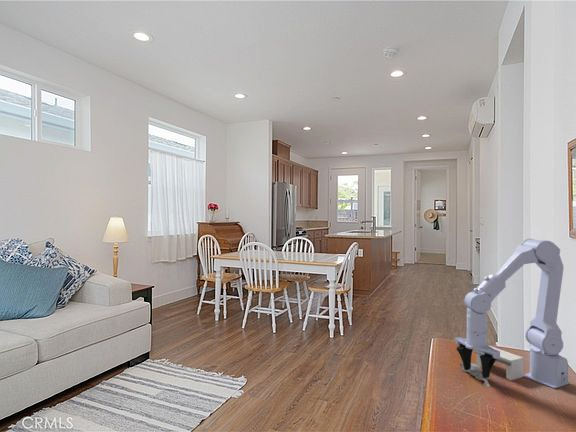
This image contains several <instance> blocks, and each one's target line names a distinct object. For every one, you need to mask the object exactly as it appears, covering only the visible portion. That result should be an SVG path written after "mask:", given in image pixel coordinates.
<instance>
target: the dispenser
mask: <svg viewBox="0 0 576 432" xmlns="http://www.w3.org/2000/svg"><path fill="white" fill-rule="evenodd" d="M487 345H488V344H487ZM488 346H490V347H492V348H493V349H495V350H498V351H500V358H497V360H496V361H495V362H498V363H501V364H504V365H506V366H505V369H506V370H505V372H506V373H505V374H506V376H505V377H506V380H510V381H514V380H517V379H520V378H523V377H524V357H523V356H521V355H517V354H514V353H512V352H508V351H506V350H502V349H500V348H497V347H494V346H491V345H488ZM473 351H474V354H476V360H475V362H476V363H475V364H476V365H477V367H478V368H480V369H481V368H482V363H481V359H480V356H481V355H484V353H481V352H479V351H476V350H473Z"/></svg>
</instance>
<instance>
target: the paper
mask: <svg viewBox="0 0 576 432" xmlns="http://www.w3.org/2000/svg"><path fill="white" fill-rule="evenodd" d="M459 366H460V367H461V372H464V373H469V374H470V375H471V376H473V377H475V379H476V380H479V381H484V383H483V385H482V386H484V387H485V386H486V387H487V388H490V387H491V384H490V383H489V381H488V379H487V378H483V376H482V369H481V368H480V367H478V366H477V365H476V363H473V362H471V368H470V369H468V370H465V369H464V366H463V362H461V363H460V364H459Z"/></svg>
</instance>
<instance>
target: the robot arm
mask: <svg viewBox="0 0 576 432" xmlns="http://www.w3.org/2000/svg"><path fill="white" fill-rule="evenodd" d="M560 254H561V248H559V247H558V246H557V245H556V244H555V243H554V242H553V241H551V240H541V239H534V238H526V239H524V240H523V241H522V242H520V244H519V245H517V246H516V248H515V250H514V252H513V253H512V254H511V255H510V257H509V258H508V259H507V260H506V261H505V262H504V263H503V265H502V266H501V267H500V268H499V270H498V271H497V272H496V273H495V274H488V275H485V276H484V277H483V281H482V282H481V283H480V284H479V285H478V286H477V287H475V288H473V290H472V291H470V292H468V293H467V294H466V295H465V296H464V299H463V300H462V301H463V304H464V306H465V307H466V338H464V337H460V336H458V337H455V338H454V339H455V340H454V342H455V343H454V344H455V345H458V346H456V351H457V352H458V354H459V355H460V359H461V361H462V362H463V366H464V369H465V370H468V369H470V368H471V363H472V354H473V351H475V350H476V351H479V352H481V353H484V355H481V356H480V359H481V363H482V369H481V371H482V376H483V378H486V379H487V378H490V374H491V371H492V368H493V366H494V364H495V363H496V362H497V361H496V360H497V358H500V351H498V350H495V349H493V348H492V347H493V346H492V347H490V346H491V345H489V346H488V344H487V343H488V342H487V341H488V340H487V339H488V332H487V330H488V328H487V327H488V326H487V325H488V318H487V317H488V315H487V314H488V311H490V310H491V307H492V302H493V301H494V300H495V299H496V298H497V296H499V295H500V293H502V291H503V290H505V288H506V287H507V286H506V282H507V281H508V280H509V279H510V278H511V277H513V275H514V274H515V273H517V272H518V270H520V269H521V268H522V267H523V266H524V265H527V264H535V265H536V266H537V267H539V268H540V269H541V274H540V280H539V288H538V295H537V297H538V298H537V304H536V309H535V310H536V311H535V318H533V319H532V320H530V321H529V326H528V328H527V329H526V331H525V337H524V338H525V339H526V341H527V342H528V343H529V372H528V373H525V374H524V373H523V377H525V378H527V379H529V380H532V381H534V382H537V383H539V384H542V385H544V386H547V387H549V388H553V389H558V388H560V387H564V386H566V385H569V384H570V381H569V362H568V359H567V358H566V357H564V356H562V355H560V353H561V352H562V350H563V349H564V341H563V339H562V335H563V333H562V330H561V328H560V326H559V325H558V324H557V321H558V313H559V312H558V311H559V306H560V305H559V304H560V297H561V292H562V291H561V290H562V283H563V282H562V281H563V275H564V263H563V261H562V258H561V256H560ZM462 362H461V363H462Z"/></svg>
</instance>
